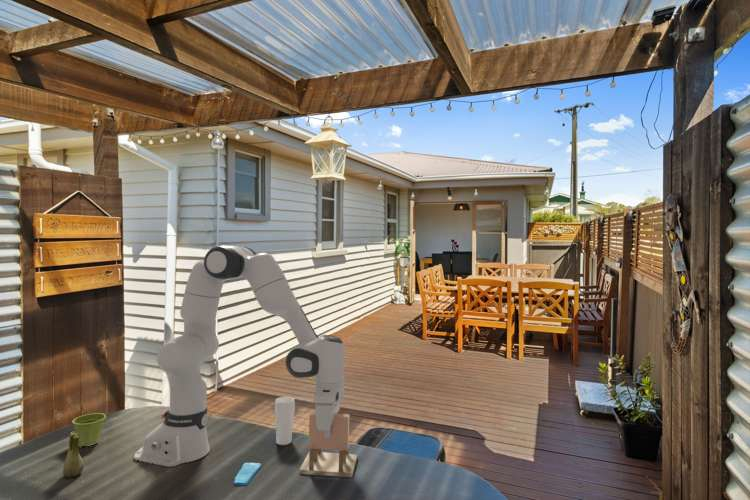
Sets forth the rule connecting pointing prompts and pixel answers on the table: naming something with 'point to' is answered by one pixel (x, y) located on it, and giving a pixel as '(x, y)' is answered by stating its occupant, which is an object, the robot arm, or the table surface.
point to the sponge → (246, 473)
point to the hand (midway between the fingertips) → (328, 434)
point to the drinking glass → (284, 419)
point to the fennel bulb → (73, 458)
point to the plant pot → (89, 428)
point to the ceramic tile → (338, 434)
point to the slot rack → (329, 463)
